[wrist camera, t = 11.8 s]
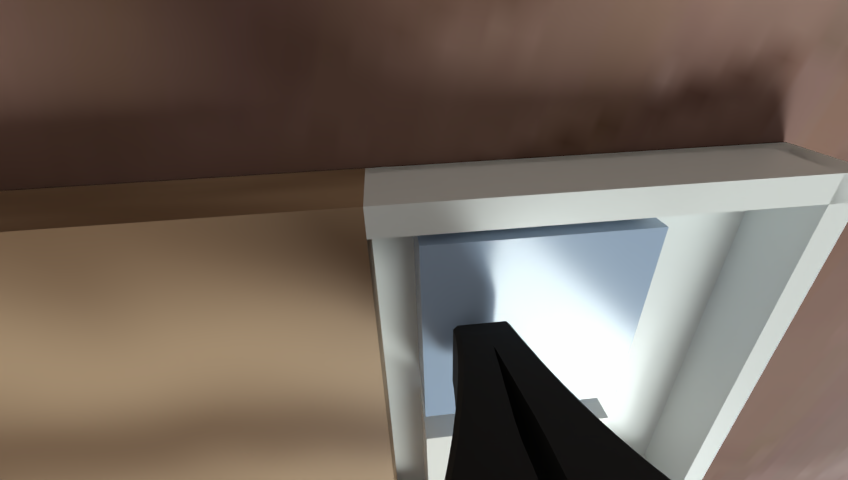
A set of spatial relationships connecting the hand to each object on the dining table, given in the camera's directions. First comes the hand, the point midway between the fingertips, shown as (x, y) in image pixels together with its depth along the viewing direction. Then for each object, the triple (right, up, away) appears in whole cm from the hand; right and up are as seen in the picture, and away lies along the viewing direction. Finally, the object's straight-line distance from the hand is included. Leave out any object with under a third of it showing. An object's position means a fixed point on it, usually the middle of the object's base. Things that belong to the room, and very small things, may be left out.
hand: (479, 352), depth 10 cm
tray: (+3, -1, +5) cm, 6 cm away
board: (-10, -2, +4) cm, 11 cm away
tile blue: (+1, +1, +2) cm, 3 cm away
